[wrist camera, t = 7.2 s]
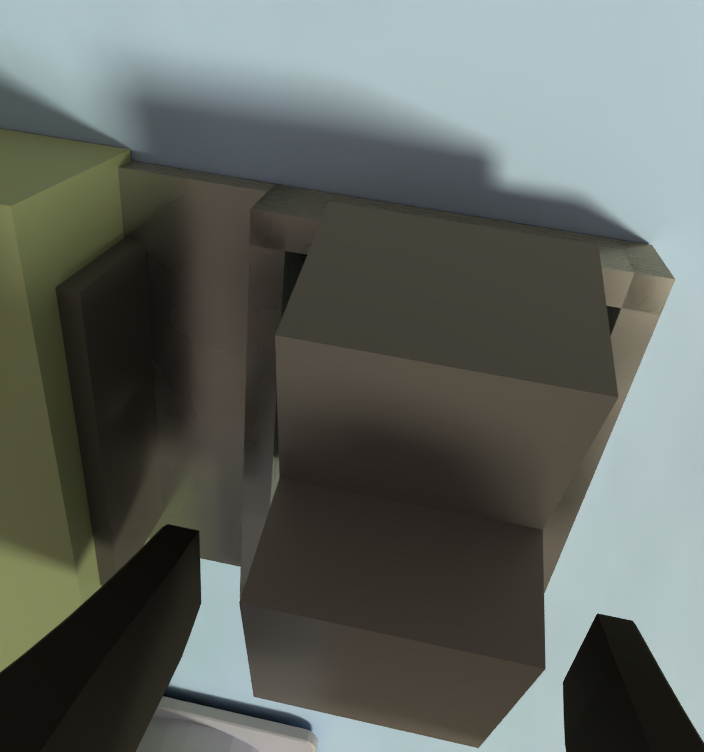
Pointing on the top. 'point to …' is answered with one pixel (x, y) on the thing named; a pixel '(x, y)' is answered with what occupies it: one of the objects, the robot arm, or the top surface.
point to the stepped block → (422, 467)
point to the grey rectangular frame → (257, 339)
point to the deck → (69, 384)
